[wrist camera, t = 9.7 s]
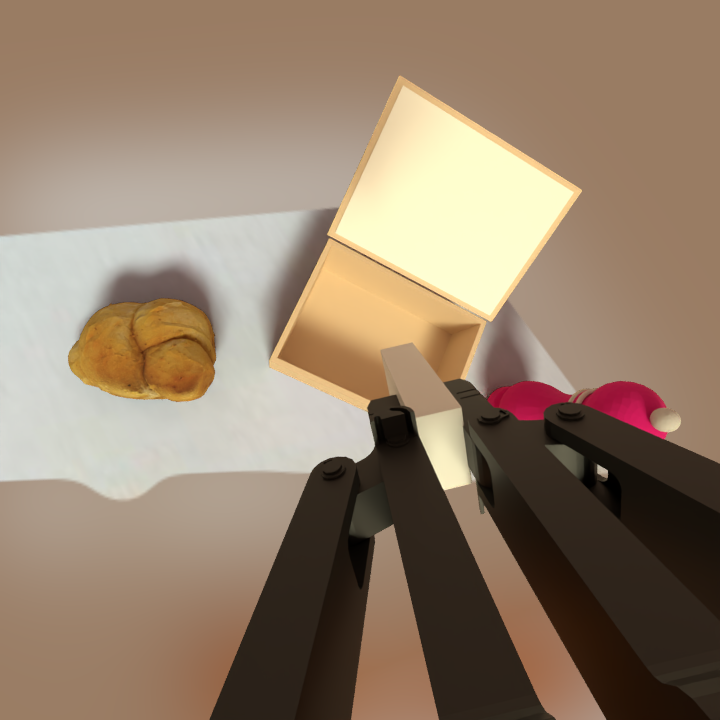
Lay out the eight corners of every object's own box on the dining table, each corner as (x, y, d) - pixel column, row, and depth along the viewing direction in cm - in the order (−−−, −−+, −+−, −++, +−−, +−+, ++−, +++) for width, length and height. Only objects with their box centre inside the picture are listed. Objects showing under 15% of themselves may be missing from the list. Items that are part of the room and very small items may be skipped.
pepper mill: (481, 442, 45) (640, 474, 26) (479, 382, 46) (632, 368, 26) (533, 441, 47) (721, 470, 27) (531, 383, 47) (711, 370, 28)
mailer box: (269, 367, 40) (269, 360, 33) (320, 263, 43) (329, 237, 36) (415, 433, 43) (442, 439, 36) (454, 333, 46) (486, 321, 39)
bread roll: (77, 399, 36) (23, 399, 28) (87, 300, 37) (38, 273, 29) (219, 402, 39) (207, 402, 31) (225, 310, 40) (214, 288, 32)
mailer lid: (399, 74, 30) (399, 77, 31) (326, 234, 35) (327, 234, 36) (583, 190, 33) (578, 190, 34) (491, 322, 38) (489, 320, 39)
